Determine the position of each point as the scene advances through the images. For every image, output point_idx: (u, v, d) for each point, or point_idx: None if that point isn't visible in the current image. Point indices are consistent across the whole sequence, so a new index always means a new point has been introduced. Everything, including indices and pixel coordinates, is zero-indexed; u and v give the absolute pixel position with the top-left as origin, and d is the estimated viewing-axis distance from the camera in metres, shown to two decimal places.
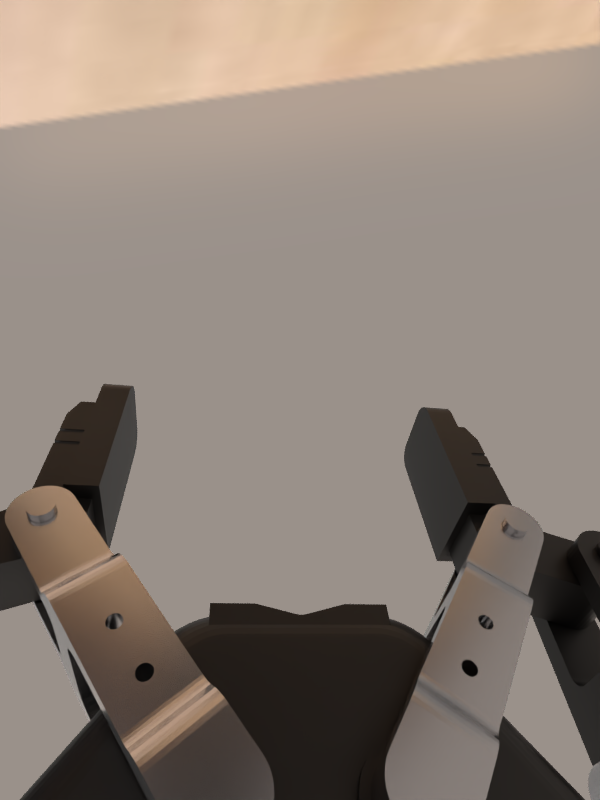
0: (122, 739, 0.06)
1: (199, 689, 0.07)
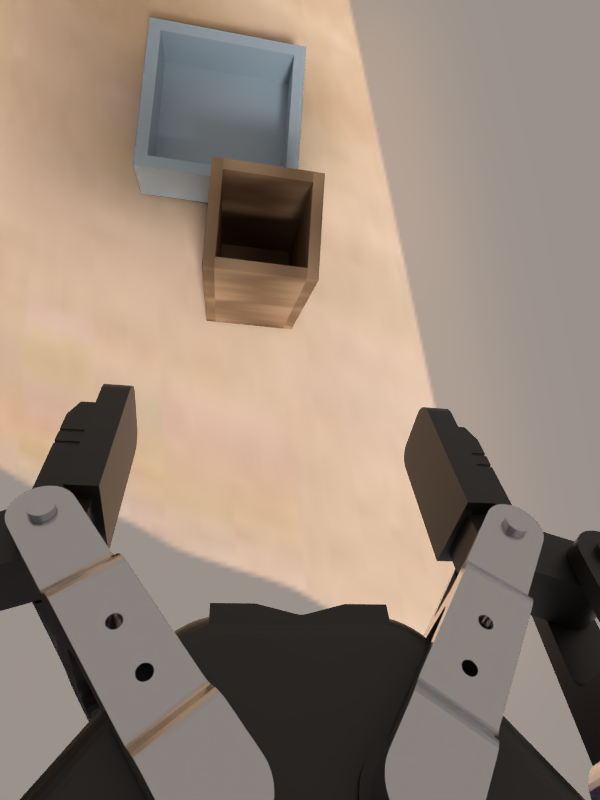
0: (122, 739, 0.06)
1: (199, 690, 0.07)
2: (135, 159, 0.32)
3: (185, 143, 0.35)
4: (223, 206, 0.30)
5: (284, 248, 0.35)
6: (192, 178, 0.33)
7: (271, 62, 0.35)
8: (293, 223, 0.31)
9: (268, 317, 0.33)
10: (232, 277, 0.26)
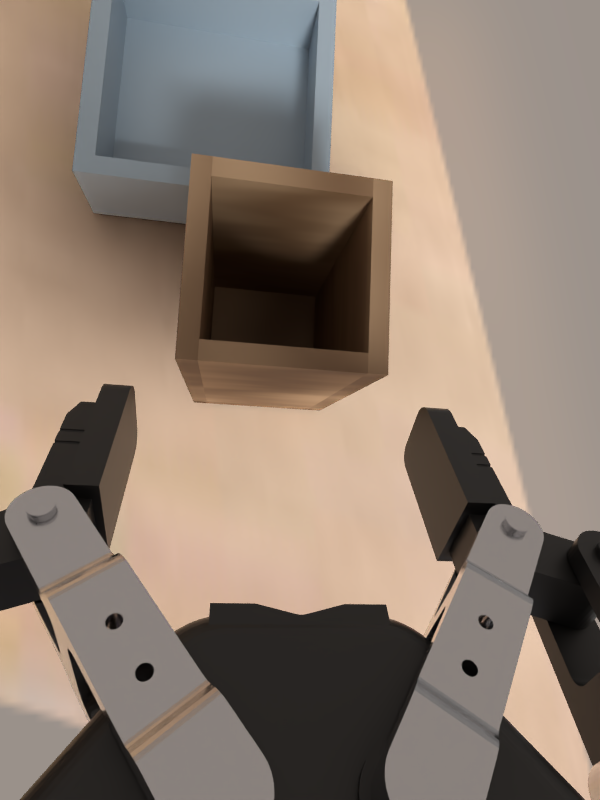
0: (122, 739, 0.06)
1: (199, 689, 0.07)
2: (75, 162, 0.20)
3: (158, 137, 0.24)
4: (215, 236, 0.18)
5: (309, 292, 0.23)
6: (167, 189, 0.21)
7: (284, 14, 0.24)
8: (328, 259, 0.20)
9: (288, 402, 0.22)
10: (232, 369, 0.15)
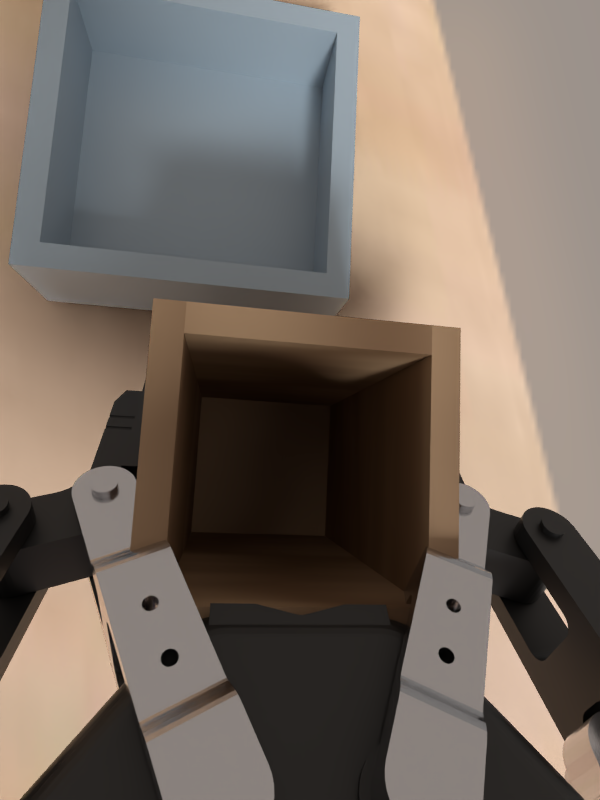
0: (138, 718, 0.06)
1: (218, 685, 0.07)
2: (13, 253, 0.15)
3: (131, 204, 0.19)
4: (197, 371, 0.13)
5: (323, 403, 0.18)
6: (138, 283, 0.16)
7: (291, 47, 0.18)
8: (352, 388, 0.15)
9: None
10: None
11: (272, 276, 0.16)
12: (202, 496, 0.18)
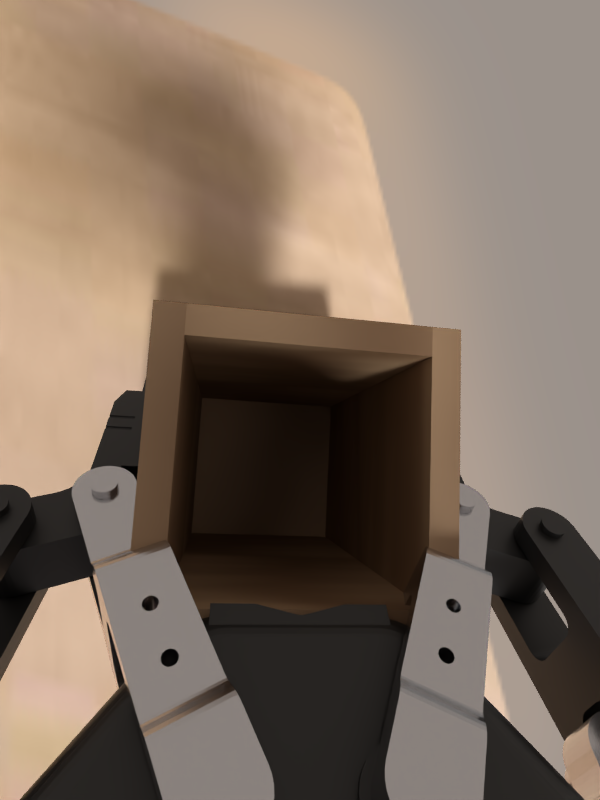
0: (138, 718, 0.06)
1: (217, 685, 0.07)
2: None
3: None
4: (197, 372, 0.13)
5: (323, 404, 0.18)
6: None
7: None
8: (353, 389, 0.15)
9: None
10: None
11: None
12: (203, 497, 0.18)
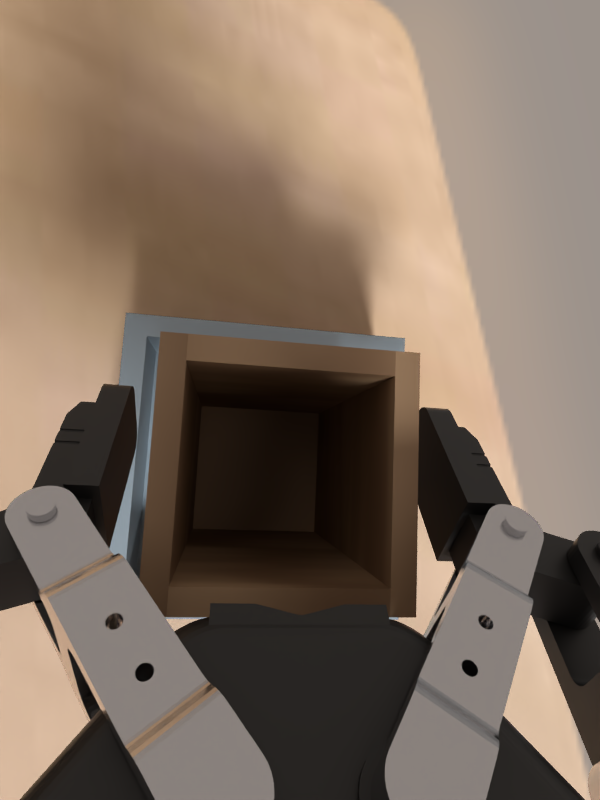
0: (122, 739, 0.06)
1: (199, 689, 0.07)
2: None
3: None
4: (197, 386, 0.15)
5: (311, 411, 0.20)
6: None
7: None
8: (335, 400, 0.16)
9: None
10: None
11: None
12: (203, 496, 0.20)
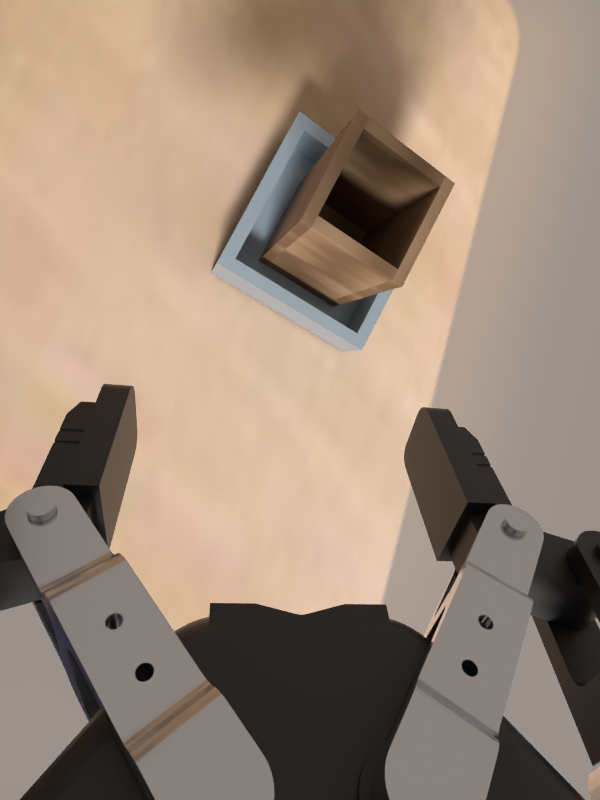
0: (122, 739, 0.06)
1: (199, 690, 0.07)
2: (221, 258, 0.29)
3: None
4: None
5: (364, 226, 0.33)
6: (269, 296, 0.31)
7: None
8: (391, 210, 0.30)
9: (321, 288, 0.32)
10: (322, 242, 0.25)
11: (332, 323, 0.32)
12: None
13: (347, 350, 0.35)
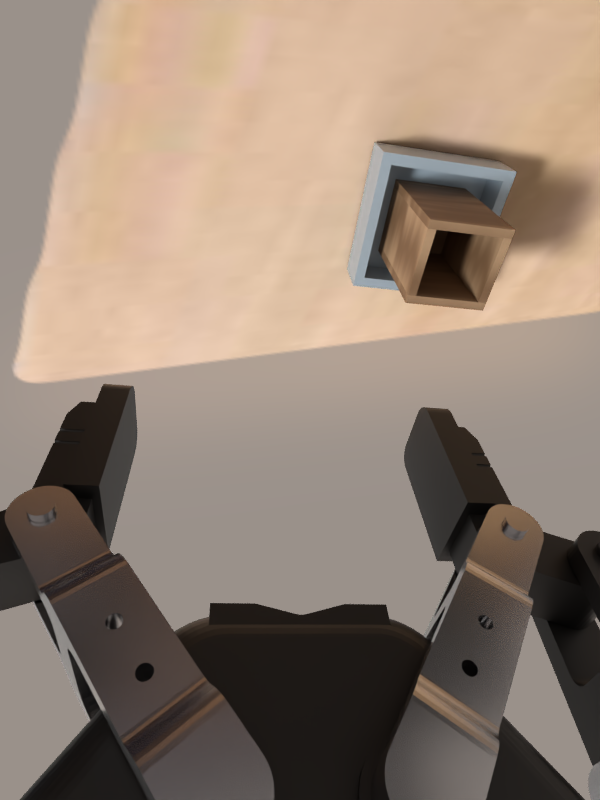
0: (123, 739, 0.06)
1: (199, 689, 0.07)
2: (388, 153, 0.37)
3: None
4: None
5: (443, 252, 0.43)
6: (370, 201, 0.39)
7: None
8: (458, 271, 0.40)
9: (388, 239, 0.41)
10: (419, 237, 0.34)
11: (365, 257, 0.41)
12: None
13: (349, 273, 0.45)
